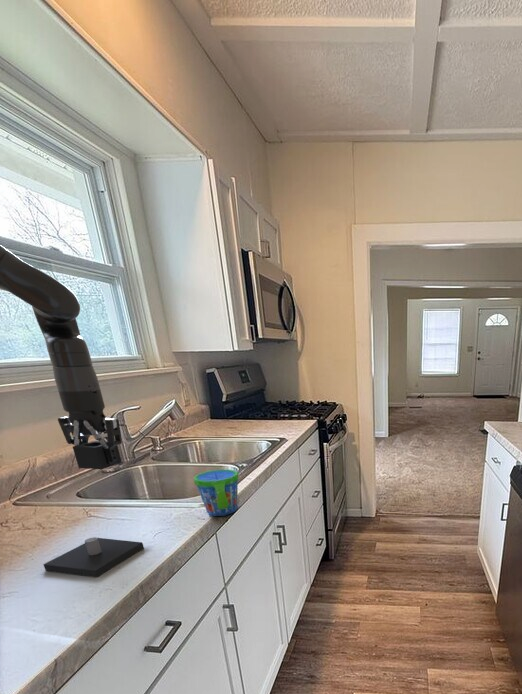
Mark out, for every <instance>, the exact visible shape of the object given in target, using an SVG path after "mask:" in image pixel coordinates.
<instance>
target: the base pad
mask: <svg viewBox="0 0 522 694" xmlns="http://www.w3.org/2000/svg"><path fill="white" fill-rule="evenodd" d="M143 549H145V547H144V543H143V542H141V541H133V540H123V539H113V538H106V537H105V538H103V537H95V536H94V537H93V536H92V537H89V538H86V539H85V540H84V543H82V544H80V545H78V546H77V547H75V548H72V549H70V550H69V551H67V552H65V553H63V554H61V555H59V556H57V557H55V558H53V559H50V560H49V561H47V562H45V563H43V564H42V565H43V568H44V571H46V572H52V573H59V574H67V575H75V576H76V575H77V576H82V577H91V578H98V577H100V576H101V575H104V574H105V573H107V572H108V571H110V570H112V569H113V568H115V567H117V566H118V565H120V564H122V563H123V562H124V561H126V560H128V559H129V558H131V557H132V556H135V554H138V553H140V552H141V551H142V550H143Z"/></svg>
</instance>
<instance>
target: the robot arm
mask: <svg viewBox="0 0 522 694" xmlns="http://www.w3.org/2000/svg"><path fill="white" fill-rule="evenodd" d="M0 290H2V291H5V292H8V293H10V294H12V295H13V296H15V297H16V298H18V299H20V300H21V301H23V302H25V303H26V304H27V305H29V306H31V308H32V311H33V315H34V316H35V319H36V322H37V325H38V327H39V329H40V331H41V333H42V336H43V338H44V341H45V344H46V350H47V353H48V357H49V361H50V363H51V367H52V371H53V378H54V382H55V385H56V388H57V391H58V395H59V399H60V401H61V406H62V408H63V410H64V411H65V412H67V413H68V416H63V417H58V418H57V421H58V425H59V426H60V430H61V431H62V434H63V436H64V439H65V441H66V443H67V444H68V445H73V446H77V445H81V444H85V443H89V438H90V437H91V436H92V437H93V438H94V439H95V441H99V442H100V443H101V445H102V446H103V448H104V449H103V451H104V455H105V458H106V462H107V464H110V465H112V464H115V463H116V462H117V455H116V451H115V446H116V445H117V446H119V445H122V443H123V441H122V434H121V426H120V420H119V418H117V417H115V418H114V417H113V418H109V417H107V416H106V415H105V413H104V409H105V408H106V406H105V401H104V398H103V394H102V390H101V386H100V382H99V379H98V376H97V374H96V371H95V368H94V365H93V362H92V358H91V353H90V350H89V347H88V344H87V342H86V340H85V339H84V338H83V337H82V335H81V332H80V328H79V325H78V321H77V318H78V317H79V315H80V313H81V305H80V301H79V299H78V297H77V295H76V294H75V293H74V292H73V291H72V290H71V289H70V288H69V287H67V286H66V285H64V283H62V282H61V281H58V279H55V278H54V277H52V276H51V275H49V274H47V273H45V271H42V270H40V269H38V268H37V267H35V266H33V265H32V264H29V263H27V262H25V261H24V260H22V259H20V257H18V256H16V255H15V254H14V253H13V252H11V251H10V250H8V249H6V248H5V246H2V245H1V244H0ZM71 435H72V436H71ZM106 441H107V442H106Z"/></svg>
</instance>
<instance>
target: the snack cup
mask: <svg viewBox="0 0 522 694" xmlns="http://www.w3.org/2000/svg"><path fill="white" fill-rule="evenodd" d="M239 477H240V475H239V472H238V471H236V470H234V469H214V470H213V469H212V470H207V471H204V472H200V473H198V474H196V475H195V476H193V482H194V484H195V486H196V487H197V490H198V493H199V495H200V498H201V500H202V503H203V506H204V508H205V511H206V513H207V514H208V515H209V516H211V517H212V516H213V517H224V516H228V515H231V514H232V513H233V514H234V513H235V512H237V511H238V503H239V502H238V496H239V495H238V492H239V491H238V489H239V488H238V485H239V484H238V481H239Z"/></svg>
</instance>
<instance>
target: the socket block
mask: <svg viewBox="0 0 522 694" xmlns="http://www.w3.org/2000/svg"><path fill="white" fill-rule="evenodd" d="M105 441H106V442H108V441H107V440H105ZM103 449H104V448H103V446H102V445H101V443H100V442H99V441H98V440H93V441H88V443H85V444H81V445H77V446H75V445H73V446H72V451H73V453H74V456H75V460H76V463H77V466H78V469H87V470H88V469H89V470H104V469H106V468H110V467H113V466H115V465H118V464H122V463H123V462H122V459H121V454H120V451H119V450H120V449H119V445H116V446H115V451H116V455H117V462H116V463H115V464H112V465H110V464H107V462H106V458H105V455H104V451H103Z"/></svg>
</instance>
